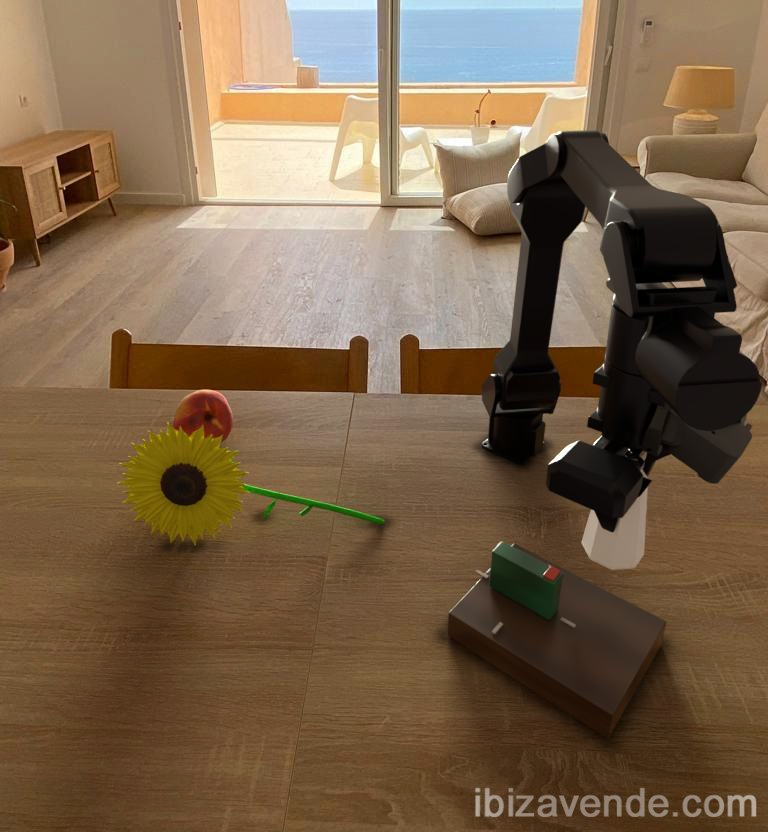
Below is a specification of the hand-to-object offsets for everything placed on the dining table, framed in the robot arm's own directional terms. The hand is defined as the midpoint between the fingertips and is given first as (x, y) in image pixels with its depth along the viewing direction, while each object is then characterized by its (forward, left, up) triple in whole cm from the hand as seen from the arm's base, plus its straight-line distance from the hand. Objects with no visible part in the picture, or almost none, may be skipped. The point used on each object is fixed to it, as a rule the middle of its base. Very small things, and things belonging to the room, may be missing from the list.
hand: (617, 517), depth 61 cm
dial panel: (-3, -4, -13) cm, 14 cm away
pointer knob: (-6, -4, -10) cm, 13 cm away
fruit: (-55, -5, -14) cm, 57 cm away
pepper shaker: (0, 0, -4) cm, 4 cm away
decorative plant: (-36, -12, -14) cm, 40 cm away
